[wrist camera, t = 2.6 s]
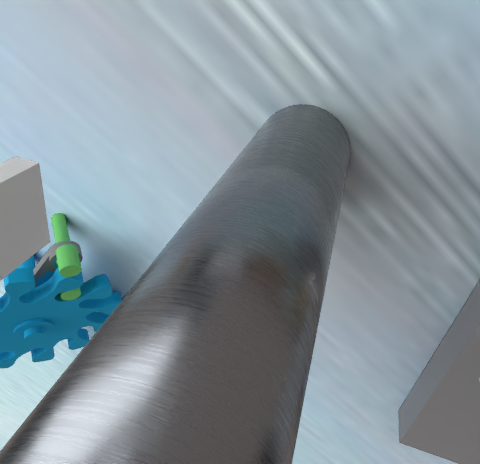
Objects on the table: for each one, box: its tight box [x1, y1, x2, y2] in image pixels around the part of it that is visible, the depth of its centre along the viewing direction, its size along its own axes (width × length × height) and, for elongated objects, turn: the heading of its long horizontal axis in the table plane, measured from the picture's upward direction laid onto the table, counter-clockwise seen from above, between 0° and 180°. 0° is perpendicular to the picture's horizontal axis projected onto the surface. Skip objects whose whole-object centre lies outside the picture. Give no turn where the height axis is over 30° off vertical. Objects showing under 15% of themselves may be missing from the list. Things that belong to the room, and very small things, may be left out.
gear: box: [0, 213, 122, 368], centre depth 24 cm, size 11×6×10 cm
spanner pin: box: [0, 105, 350, 464], centre depth 11 cm, size 4×4×16 cm
